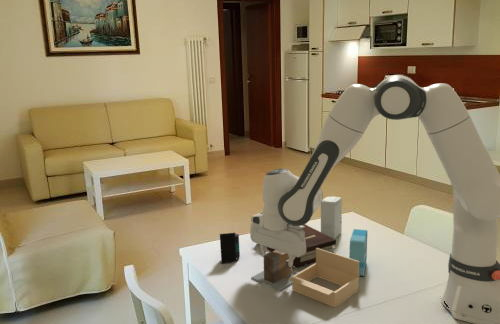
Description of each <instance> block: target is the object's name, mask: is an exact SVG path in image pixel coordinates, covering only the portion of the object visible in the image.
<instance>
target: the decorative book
mask: <svg viewBox="0 0 500 324" xmlns="http://www.w3.org/2000/svg"><path fill="white" fill-rule="evenodd" d="M299 227H301V229H302V230H303V231H304V232H305V241H306V253H305V254H304V255H302V256H300V257H295V259H294V260H293V266H292V267H294V268H295V269H299V268H302V267H305V266H309V265H313V264H315V263H316V248H319V249H322V250H325V251H328V252H332V253H335V254H337V253H336V252H334V251H333V249H335V248H337V246H335V245H336V244H337V239H336V238H335V239H333V238H331V237H329V236H327V235H325V234H323V233H321V231H319V230H317V229H315V228H313V227H311V226H309V225H308V224H304V225H301V226H299ZM267 250H268V252H270V253H271V252H273V251H275V249H272V248H269V247H267Z"/></svg>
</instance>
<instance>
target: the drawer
mask: <svg viewBox="0 0 500 324" xmlns="http://www.w3.org/2000/svg"><path fill="white" fill-rule="evenodd" d="M332 252H333V251H332ZM332 252H328V251H325V250H322V249H319V248H316V263H313V264H310V266H307V267H306V268H304V269H303V270H301V271H299V272H297V274H296V275H294V276H292V277H291V278H290V279H289V280H290V281H292V284H291V285H292V286H291V287H292V288H291V289H292V290H291V291H294V292H296V293H298V294H300V295H303V296H305V297H309V298H310V299H313V300H316V301H318V302H320V303H322V304H325V305H328V306H330V307H332V308H337V307H338V306H340V305H341V304H342V303H344V302H345V301H346V300H348V299H349V298H350V297H352V296H354V295H355V294H356V293H357V292H359V287H360V286H359V283H360V276H359V261H357V260H354V259H350V258H349V257H347V256H344V255H341V254H338V253H336V252H334V253H332ZM335 253H336V254H335ZM315 278H320V279H323V280H325V281H328V282H331V283H333V284H336V285H338V286H340V287H339V288H338V289H336V290H332V289H329V288H327V287H324V286H321V285H319V284H316V283H314V282H311V281H312V280H314V279H315Z"/></svg>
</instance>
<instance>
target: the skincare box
mask: <svg viewBox="0 0 500 324" xmlns="http://www.w3.org/2000/svg"><path fill="white" fill-rule="evenodd" d="M342 199H343V198H342V196H341V197H340V196H330V195H328V196H326V197H323V199H322V202H321V204H320V232H321V233H323V234H325V235H327V236H329V237H331V238H333V239H336V238H337V237H338V236H340V234H342V231H343V230H342V226H343V225H342V219H343V217H342V216H343V214H342V208H343V205H342V204H343V203H342V201H343V200H342Z"/></svg>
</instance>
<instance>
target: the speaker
mask: <svg viewBox="0 0 500 324" xmlns="http://www.w3.org/2000/svg"><path fill="white" fill-rule="evenodd" d="M219 244H220V258H221V259H220V260H221V264H222V265H223V264H233V263H237V262H238V261H237V260H238V259H240V257H241V256H240V255H241V254H240V235H239V233H236V232H228V233H226V232H225V233H219Z"/></svg>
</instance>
